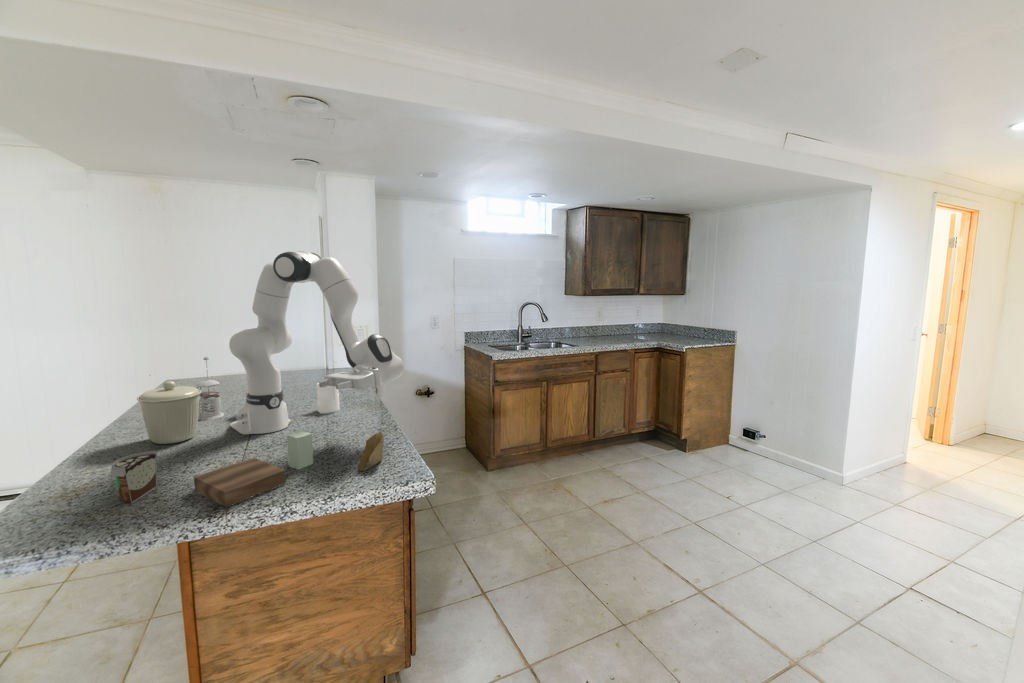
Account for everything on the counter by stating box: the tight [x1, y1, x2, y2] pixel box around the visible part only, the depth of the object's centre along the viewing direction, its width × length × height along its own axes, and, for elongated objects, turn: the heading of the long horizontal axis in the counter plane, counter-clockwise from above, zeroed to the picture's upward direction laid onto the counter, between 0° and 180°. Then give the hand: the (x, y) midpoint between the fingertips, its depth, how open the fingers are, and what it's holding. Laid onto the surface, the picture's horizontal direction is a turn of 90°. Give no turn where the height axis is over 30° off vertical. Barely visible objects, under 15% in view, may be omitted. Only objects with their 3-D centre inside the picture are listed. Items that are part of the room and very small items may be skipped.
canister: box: [136, 380, 202, 445], centre depth 158 cm, size 18×18×21 cm
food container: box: [110, 450, 159, 505], centre depth 118 cm, size 12×6×10 cm, turn 5°
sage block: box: [286, 430, 314, 470], centre depth 139 cm, size 5×5×10 cm
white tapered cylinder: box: [316, 382, 340, 414], centre depth 197 cm, size 9×9×12 cm
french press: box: [195, 356, 225, 421], centre depth 185 cm, size 10×12×25 cm
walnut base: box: [193, 457, 287, 508], centre depth 124 cm, size 16×16×4 cm
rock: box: [357, 432, 385, 472], centre depth 141 cm, size 11×9×10 cm
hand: (328, 386), depth 146 cm, fingers open, 8 cm apart
